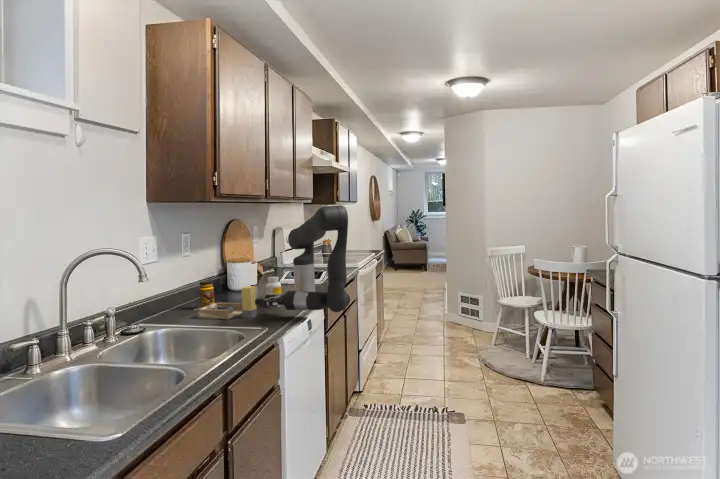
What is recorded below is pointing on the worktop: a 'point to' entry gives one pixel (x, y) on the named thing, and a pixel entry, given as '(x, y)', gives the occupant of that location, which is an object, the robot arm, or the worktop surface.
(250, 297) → the yellow upright block
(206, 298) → the condiment
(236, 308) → the walled box
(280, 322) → the worktop surface
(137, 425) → the worktop surface
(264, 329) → the worktop surface
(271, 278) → the supplement bottle
